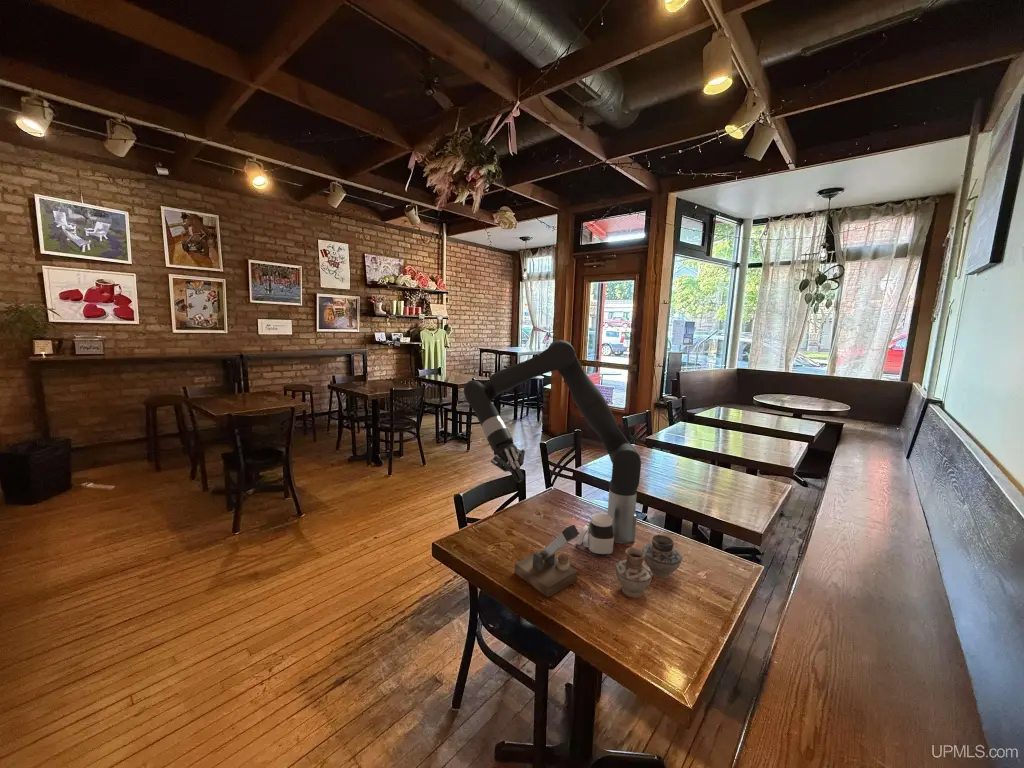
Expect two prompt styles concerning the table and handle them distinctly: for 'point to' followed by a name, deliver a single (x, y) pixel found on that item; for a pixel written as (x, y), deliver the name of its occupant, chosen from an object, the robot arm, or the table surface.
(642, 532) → the table surface
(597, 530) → the spread jar
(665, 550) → the pottery
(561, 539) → the lever
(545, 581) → the press base
